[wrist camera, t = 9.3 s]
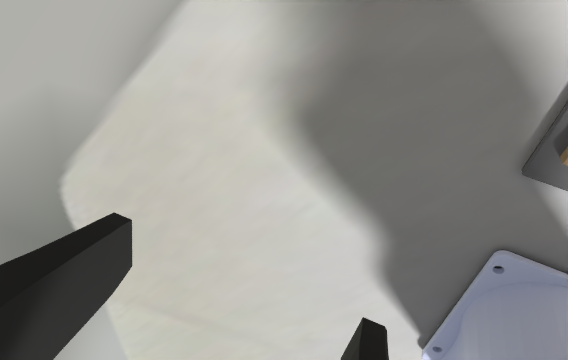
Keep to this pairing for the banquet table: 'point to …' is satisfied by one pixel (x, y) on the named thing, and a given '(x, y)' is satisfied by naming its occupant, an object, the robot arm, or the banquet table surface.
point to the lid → (564, 157)
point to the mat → (551, 155)
